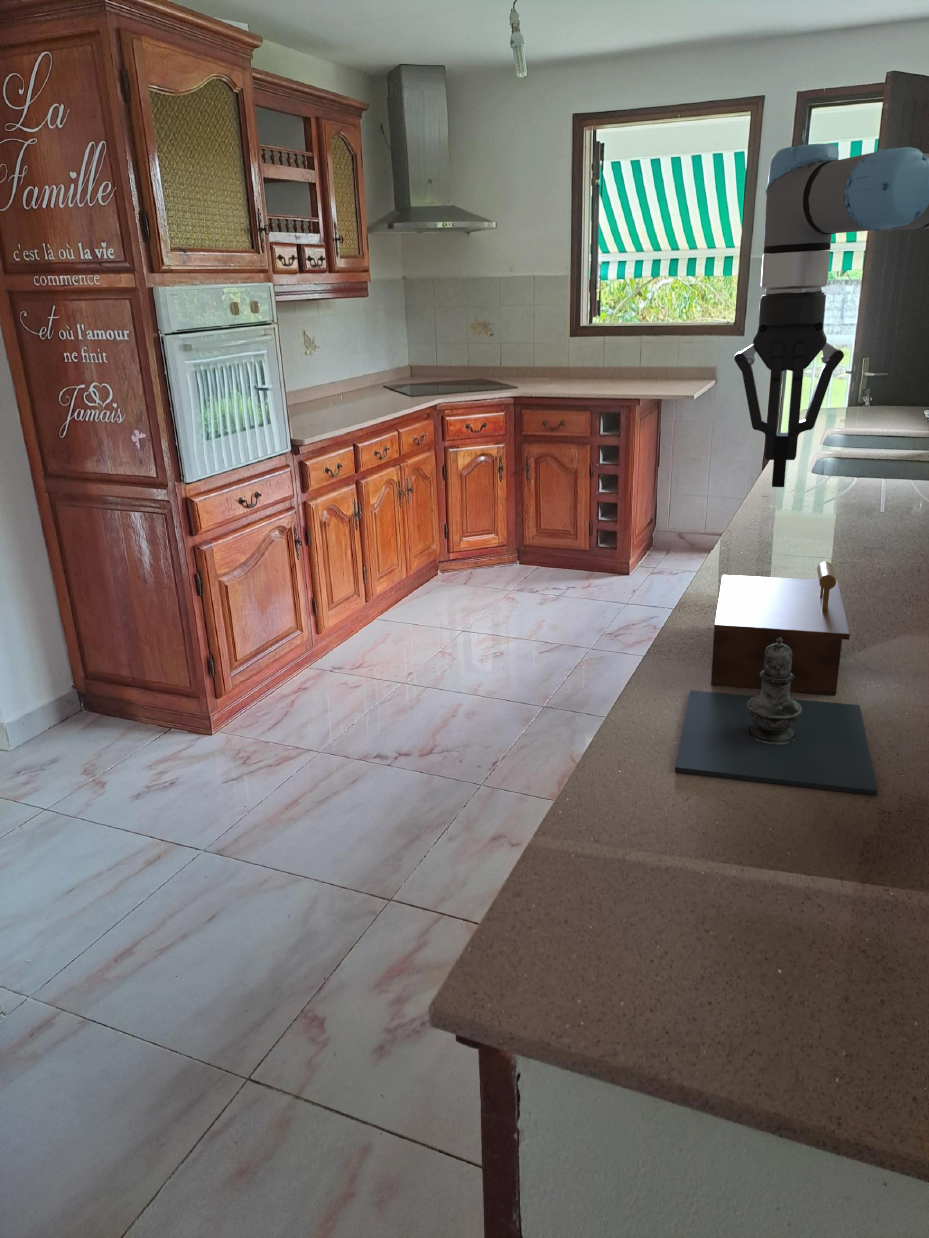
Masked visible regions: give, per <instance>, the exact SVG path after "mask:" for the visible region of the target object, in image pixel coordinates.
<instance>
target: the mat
mask: <svg viewBox="0 0 929 1238" xmlns="http://www.w3.org/2000/svg"><path fill="white" fill-rule="evenodd" d="M756 696H757V695H749V694H740V693H739V694H737V693H727V692H716V691H704V690H693V689H690V691H689V694H688V699H687V705H686V710H685V715H684V721H683V724H682V730H681V736H680V741H679V745H678V746H679V747H678V752H677V756H676V762H675V768H674V771H675V773H681V774H690V775H697V776H698V775H699V776H707V777H714V778H715V777H716V778H723V779H732V780H741V781H749V782H758V783H759V782H760V783H765V784H774V785H775V784H776V785H784V786H794V787H802V788H811V789H819V790H827V791H835V792H844V793H853V794H861V795H871V796H877V795H878V786H877V782H876V778H875V773H874V768H873V762H872V758H871V753H870V749H869V744H868V739H867V735H866V730H865V725H864V720H863V715H862V710H861V705H860V704H851V703H841V702H832V701H831V702H829V701H819V700H818V701H817V700H807V699H806V700H805V699H796V698H795V699H794V698H791V699H792V700H794V701H796V702H797V703H799V704H800V706H801V707H802V711H801V713H800V714H799V715H798V718H797V720H796V722H795V723H794V725H793V726H791V727H790V728H791V729H792V730H794V731H795V733H796V739H795V741H793V742H792V743H789V744H785V745H769V744H764V743H761V742H758V741H756V740H754V739H752V738H751V737H750V736H749V734H748V729H749V727H750V726H752V725H754V724H756V723H755V722H754V721H753V720H752V718H751V715H750V710H749V708H748V707H747V702H748V701H749V700H750V699H751V698H753V697H756Z"/></svg>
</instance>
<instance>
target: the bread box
mask: <svg viewBox="0 0 929 1238" xmlns="http://www.w3.org/2000/svg"><path fill="white" fill-rule="evenodd" d="M779 637H781V638H782V640H783V641H782V643H783V644H785V645H787V646H788V647H790V649H791V650H792V664H791V673H792V674H793V675H794V679H793V680H792V681H791V684H790V693H791V692H793V693H802V694H814V695H815V694H816V695H828V696H837V690H838V680H839V671H840V663H841V653H842V644H843V639H830V638H816V637H801V636H787V635H773V634H758V633H744V632H729V631H715V630H714V629H713V640H712V659H711V660H712V661H711V674H710V675H711V677H710V685H711V686H720V687H731V688H732V687H734V688H747V689H756V690H758V689H759V690H761V689H762V678H761V676H760V672H761V671H763V670H764V660H765V650H766V648H767V647H768V646H769V645H771V644H775V643H777V639H778V638H779Z"/></svg>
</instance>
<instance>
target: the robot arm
mask: <svg viewBox="0 0 929 1238" xmlns="http://www.w3.org/2000/svg"><path fill="white" fill-rule="evenodd" d="M839 156H840V152H839V148H838V146H837V145H835V144H831V143H810V144H809V143H808V144H801V145H796V146H794V145H793V146H788V147H784V148H780V149H778V150H777V151H776V152H775V153H773V154H772V156H771V158H770V160H769V161H770V162H769V167H768V168H769V169H768V176H767V184H766V187H765V195H766V198H765V213H764V232H763V251H762V261H761V273H760V275H761V276H760V289H762V290H765V293H764V294H762V295H761V297H759V305H758V307H759V308H758V310H759V311H758V320H757V321H758V322H757V323H758V324H757V332H756V334H755V336H754V337H753V340H752V344H751V345H749V346H748V347H746V348H744V349H743V350H741V351H738V352H736V353H735V355H734V362H735V363H736V365H737V367H738V369H739V370H740V371H741V374H742V380H743V384H744V390H745V395H746V401H747V406H748V413H749V417H750V424H751V427H752V430H755V431H758V432H761V433H763V434H764V435H765V445H764V446H765V447H764V458H765V460H766V461H773V463H772V477H771V488H785V483H786V482H785V481H786V472H787V471H786V469H787V461H795V459H796V458H797V453H798V452H797V451H798V439H799V436H800V434H801V433H803V432H806V431H811V430H813V429H814V427H815V425H816V422H817V419H818V417H819V413H820V411H821V407H822V405H823V402H824V400H825V397H826V393H827V390H828V388H829V385H830V381H831V379H832V376H833V373H834V371H835V370H836V368H838V366H839V364H840V363H841V361H842V360H843V359H844V358H845V353H844V351H843V350H841V349H840V348H836V347H834V346H833V345H831V344H830V343H828V342H827V339H828V338H827V336H826V334H825V331H824V323H825V311H826V300H827V294H825V292H824V291H823V290H822V288H824V287H826V286H827V285H828V279H829V268H830V258H831V246H832V242H831V241H832V235H835V234H844V233H858V232H859V233H860V232H870V231H871V232H879V231H907V230H920V229H921V230H922V229H923V230H927V229H928V230H929V153H923V152H922V151H921V150H920V149H919V148H916V147H911V146H905V147H894V148H887V147H885V148H881V149H877V150H876V151H874V152H869V153H865V154H860V155H856V156H851V157H847V158H842V159H840V157H839ZM821 351H822V356H821V357H820V358H821V359H820V360H821V362H822V363H823V365H822V367H821V369H820V372H819V375H818V378H817V381H816V384H815V387H814V389H813V392H812V395H811V398H810V401H809V404H808V408H807V410H806V414H805V416H804V418H803V419H802V420H800V419H801V416H800V415H801V408H802V407H801V404H802V394H803V381H804V372H805V370H806V369H807V368H808V367H809V366H810V364H811V363H812V362H813V361H814V360H815V358H816V357H817V356H818V355H819V354H820V353H821ZM755 354H757V355H758V356H759V358H760V359H761V361H762V362H763V364H764V365H765V367H766V368H767V369H768V370H769V371H770V376H769V390H768V401H767V402H768V403H767V415H766V417H767V418H766V420H764V419H762V414H761V408H760V407H761V406H760V402H759V397H758V391H757V386H756V380H755V375H754V370H753V367H752V366H753V365H754V364H755V361H756V359H755ZM785 371H790V372H791V385H790V397H789V408H788V409H789V410H788V423H787V432H777V429H778V418H779V404H780V392H781V391H780V390H781V379H782V372H785Z"/></svg>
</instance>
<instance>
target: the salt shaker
mask: <svg viewBox="0 0 929 1238" xmlns="http://www.w3.org/2000/svg"><path fill="white" fill-rule="evenodd" d="M782 641H783V640H782V638H781V637H779V638H778V639H777V643H775V644H771V645H769V646H768V647H767V648H766V650H765V660H764V670H763V671H761V672H760V676H761V678H762V689H760V693H759V695H755V696H756V697H753V698H751V699H750V700H749V701H748V702H747V707H748V708H749V710H750V715H751V718H752V720H753V721H754V722H755V723H756V724H754V725H752V726H750V727H749V729H748V734H749V736H750V737H751V738H752V739H754V740H756V741H758V742H761V743H764V744H769V745H785V744H789V743H792V742H793V741H795V739H796V733H795V731H794V730H792V729H791V728H790V727H791V726H793V725H794V723H795V722H796V720H797V718H798V715H799V714H800V713H801V711H802V707H801V706H800V704H799V703H797V702H796V701H794V700H792V699H793V698H792V697H791V691H790V684H791V681H792V680H793V679H794V675H793V674H792V673H791V664H792V650H791V649H790V647H788V646H787V645H785V644H783V643H782Z"/></svg>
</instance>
